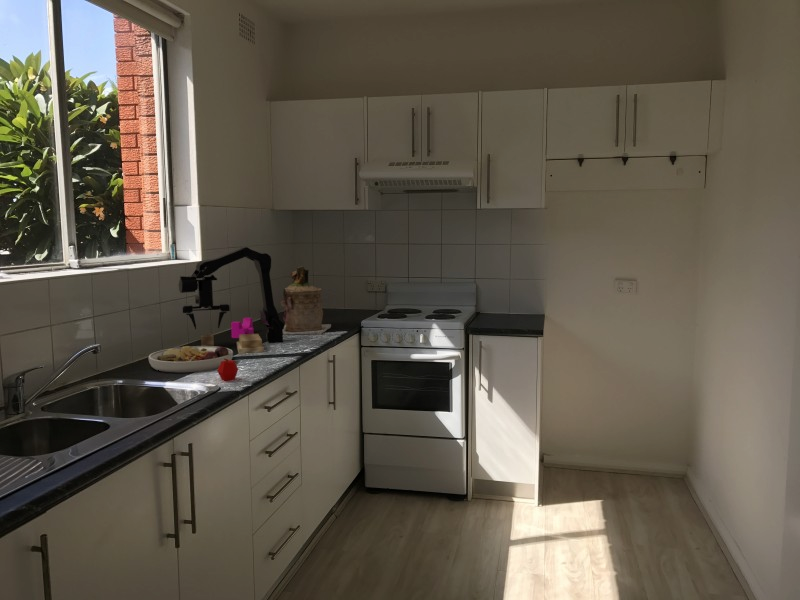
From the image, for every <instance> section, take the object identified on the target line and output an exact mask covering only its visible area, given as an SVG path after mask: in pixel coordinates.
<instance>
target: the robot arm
mask: <svg viewBox="0 0 800 600" xmlns="http://www.w3.org/2000/svg"><path fill="white" fill-rule="evenodd" d="M244 258H246V259H248V260H249V261H252V262H253V263H254V267H255V269H256V271H257V273H258V277H259V282H260V289H261V291H260V292H261V297H262V304H263V306H262V309H260V310H259V313H260V315H259V316H260V318H259V319H260V320H261V321H262V323H263V324H265V326H266V328H267V331H266V342H268V344H280V343H284V335H283V329H284V326H285V325H286V324H285V322H283V321H281V320H280V316H279V312H278V310H277V308H276V306H275V304H274V298H273V297H274V296H273V291H272V290H273V289H272V281H271V280H272V279H271V274H270V273H271V268H272V257H271V255H270V254H268V253H267V252H266V253H265V252H259V251H256V250H254V249H251V248H249V247H246V246H242V247H240V248H238V249H235V250H233V251H230V252H229V253H226V254H224V255H223V254H222V255H221V256H218V257H216V258H211V259H206V260H201V261H199V262H197V263H196V266H195V270H194V271H193V272H192V275H190V276H189V275H188V276H184V275H183V276H182V275H181V276H179V280H178V291H179V293H180V294H188V293H195V292H196V291H197V290H198V295H197V296H194V298H195V299H194V300H195V306H194V305H193V304H183V306H182V313H183V314H185V315H186V316H189V318H190V320H191V322H192V325H193V327H194V329H195V330H197V322H196V319H195V318H196V316H195V313H194V311H195V312H196V311H216V310H217V311H218V319H217V329H219V328H220V326H221V323H222V320H223V317H224V315H225V314H227V312H230V311H231V310H230V309H231V308H230V303H229V302H225V303H223V302H222V303H219V304H218V305H214V293H213V292H214V291H213V289H214V287H213V281H218V278H217V277H216V276H215V275H214V273H215V272H216V271H218V270H219V269H220V268H222V267H224V266H226V265H228V264H231V263H234V262H236V261H238V260H242V259H244ZM196 305H197V306H196Z"/></svg>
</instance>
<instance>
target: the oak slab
mask: <svg viewBox="0 0 800 600" xmlns="http://www.w3.org/2000/svg"><path fill="white" fill-rule="evenodd" d="M238 341H239V343H240V345H241V347H242V348H258V347H262V344H263V339H262V338H261V336H260V335H259V333H254V334H243V335H239V338H238Z"/></svg>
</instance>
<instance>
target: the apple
mask: <svg viewBox="0 0 800 600" xmlns="http://www.w3.org/2000/svg"><path fill="white" fill-rule="evenodd" d="M224 360H226V361H221V363H220V366H219V368H217V373H218V375H219V377H220V380H222V381H223V380H224V382H231V381H230V380H233V381H235V379H236V376H237V374H238V372H239V368H238V366H237V363H236V361H235V360H228V359H225V358H224Z"/></svg>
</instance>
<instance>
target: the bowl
mask: <svg viewBox="0 0 800 600" xmlns="http://www.w3.org/2000/svg"><path fill="white" fill-rule="evenodd" d="M233 356H234V351H233V350H232V349H230V348H228V347H224V346H215V345H214V346H201V345H196V346H189V345H186V346H184V345H183V346H181V347H180V346H179V347H173V348H166V349H161V350H158V351H155V352H152V353H150V354H149V355H148V362H149V365H150V366H151V368H153V369H154V370H156V371H158V370H159V372H164V373H165V372H166V373H195V372H196V373H197V372H205V371H211V370H215V369H217V370H218V368H219V366H220V363H221V361H226V360H224V358H225V359H228V360H232V359H233ZM232 361H233V360H232Z"/></svg>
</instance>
